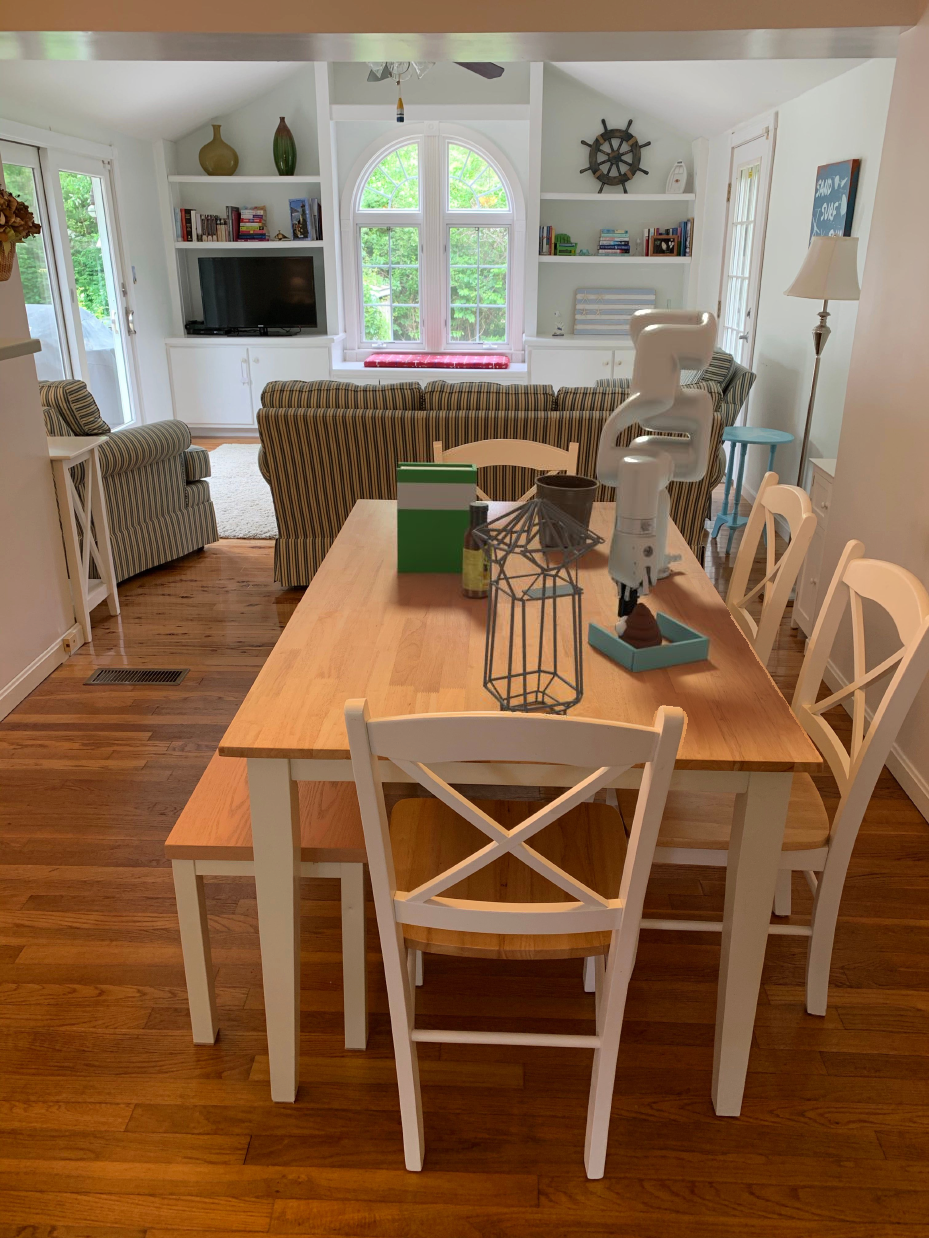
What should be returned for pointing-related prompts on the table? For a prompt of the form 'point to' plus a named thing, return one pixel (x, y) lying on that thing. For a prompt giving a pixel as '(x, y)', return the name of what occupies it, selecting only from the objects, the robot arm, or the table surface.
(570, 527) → the geometric lantern
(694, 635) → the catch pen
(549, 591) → the mat
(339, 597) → the table surface
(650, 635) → the poop emoji
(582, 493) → the plant pot
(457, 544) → the hardback book
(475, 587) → the sauce bottle
